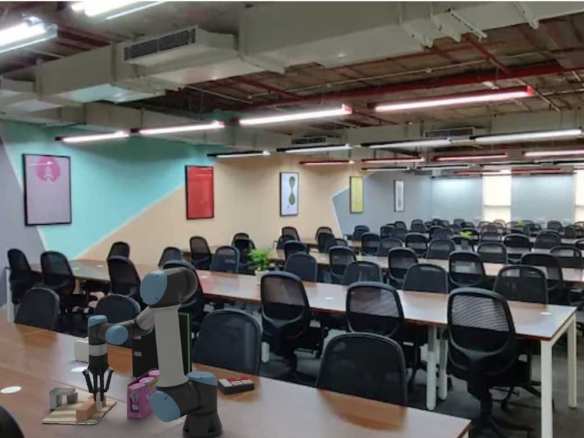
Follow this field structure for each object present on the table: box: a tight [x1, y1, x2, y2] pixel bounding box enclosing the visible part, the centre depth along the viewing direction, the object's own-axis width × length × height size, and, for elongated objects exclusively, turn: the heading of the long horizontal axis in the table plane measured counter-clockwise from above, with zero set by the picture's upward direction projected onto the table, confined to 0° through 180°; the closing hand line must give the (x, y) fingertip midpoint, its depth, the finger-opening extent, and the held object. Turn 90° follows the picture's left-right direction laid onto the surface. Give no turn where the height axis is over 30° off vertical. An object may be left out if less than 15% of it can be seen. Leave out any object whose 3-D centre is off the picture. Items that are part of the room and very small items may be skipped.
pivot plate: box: [41, 386, 118, 425], centre depth 220 cm, size 22×22×9 cm
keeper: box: [48, 387, 79, 410], centre depth 227 cm, size 7×9×8 cm
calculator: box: [217, 375, 255, 395], centre depth 248 cm, size 11×4×15 cm
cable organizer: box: [73, 336, 89, 364], centre depth 295 cm, size 15×11×12 cm
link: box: [76, 393, 107, 420], centre depth 219 cm, size 18×7×4 cm, turn 176°
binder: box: [130, 311, 193, 378], centre depth 266 cm, size 27×15×32 cm, turn 67°
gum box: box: [126, 368, 160, 420], centre depth 225 cm, size 24×8×14 cm, turn 167°
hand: (99, 408), depth 218 cm, fingers closed
